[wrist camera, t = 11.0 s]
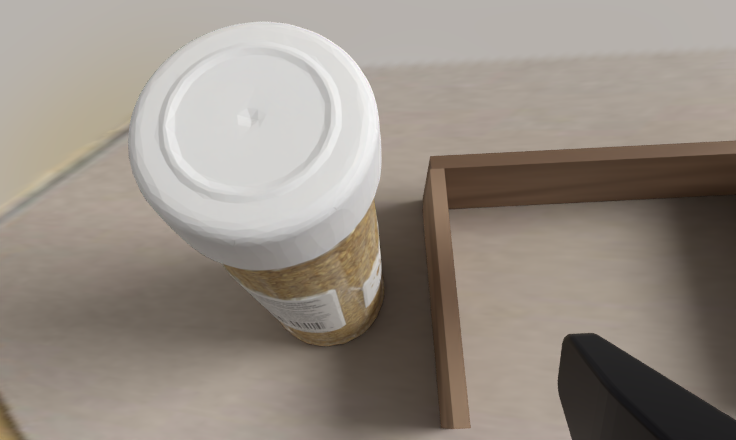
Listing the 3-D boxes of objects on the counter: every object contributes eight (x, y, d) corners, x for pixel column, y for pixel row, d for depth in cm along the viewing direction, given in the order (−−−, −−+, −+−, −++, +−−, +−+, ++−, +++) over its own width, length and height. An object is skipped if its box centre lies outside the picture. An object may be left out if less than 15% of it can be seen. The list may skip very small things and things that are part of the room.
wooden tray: (824, 410, 20) (925, 406, 16) (440, 428, 20) (453, 428, 17) (753, 182, 23) (823, 136, 20) (421, 199, 24) (428, 156, 20)
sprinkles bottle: (407, 283, 22) (434, 100, 10) (332, 373, 21) (251, 299, 9) (322, 215, 23) (247, -29, 11) (246, 297, 22) (64, 132, 10)
